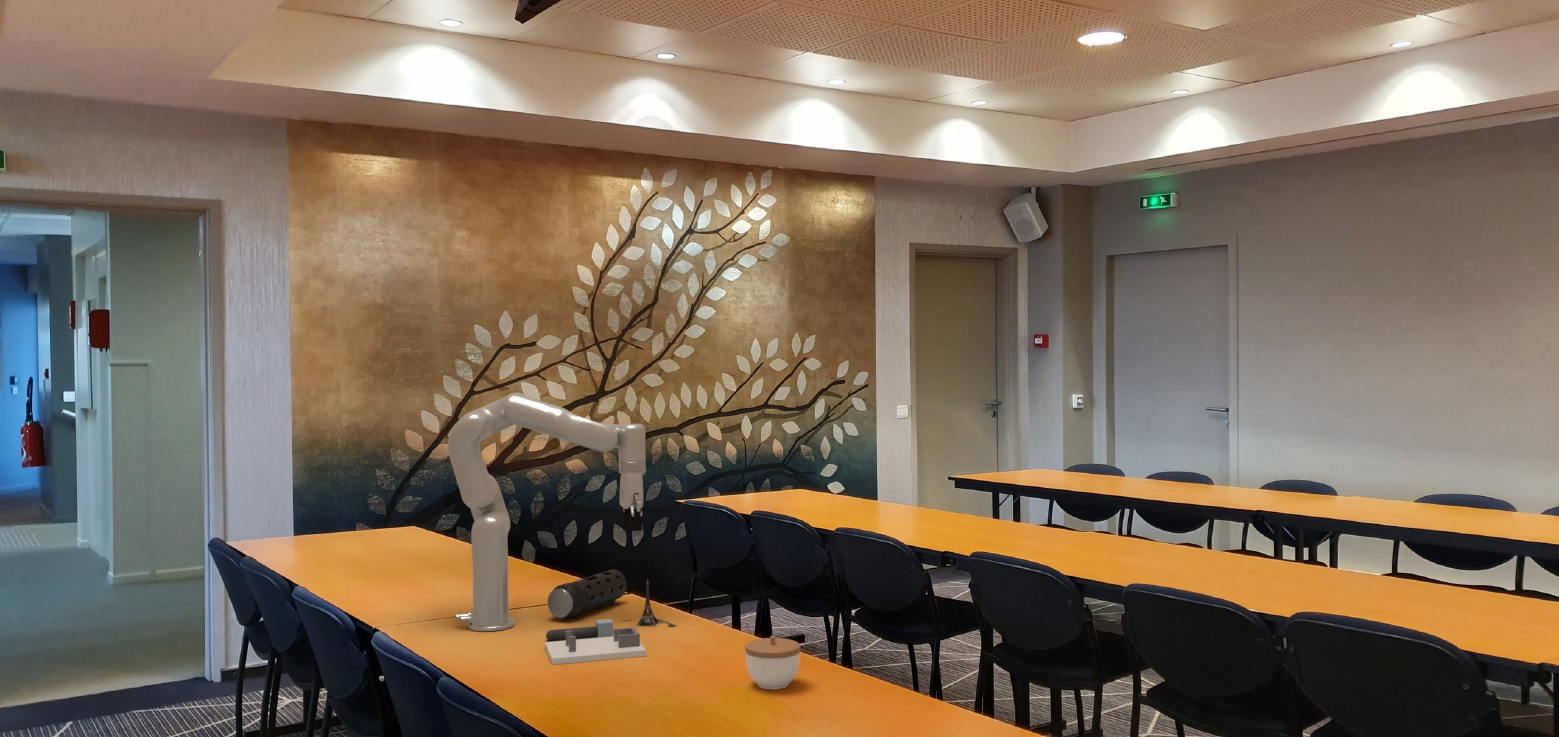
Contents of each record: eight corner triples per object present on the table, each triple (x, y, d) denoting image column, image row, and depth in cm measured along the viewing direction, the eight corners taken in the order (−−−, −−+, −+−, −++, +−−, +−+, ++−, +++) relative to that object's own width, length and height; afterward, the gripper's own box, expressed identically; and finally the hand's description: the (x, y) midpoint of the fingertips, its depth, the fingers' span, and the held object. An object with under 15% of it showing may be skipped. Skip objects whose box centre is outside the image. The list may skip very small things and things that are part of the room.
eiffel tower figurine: (679, 628, 304) (678, 579, 304) (647, 633, 298) (646, 584, 298) (651, 617, 316) (651, 571, 316) (620, 623, 310) (620, 575, 310)
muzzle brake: (627, 603, 332) (627, 569, 332) (573, 624, 307) (572, 587, 307) (601, 600, 336) (601, 567, 336) (545, 621, 311) (544, 584, 311)
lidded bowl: (781, 696, 242) (781, 646, 242) (734, 687, 248) (734, 638, 248) (810, 681, 252) (810, 633, 252) (764, 673, 259) (764, 626, 259)
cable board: (552, 664, 267) (552, 643, 267) (544, 647, 282) (544, 628, 282) (646, 655, 275) (645, 635, 274) (633, 640, 290) (633, 620, 290)
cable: (546, 642, 287) (546, 627, 287) (545, 639, 291) (545, 624, 291) (613, 636, 293) (613, 622, 293) (610, 633, 297) (610, 618, 297)
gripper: (612, 465, 318) (613, 524, 318) (625, 471, 301) (626, 533, 302) (638, 464, 320) (638, 522, 320) (652, 469, 304) (652, 531, 304)
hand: (632, 527), depth 311 cm, fingers open, 9 cm apart
